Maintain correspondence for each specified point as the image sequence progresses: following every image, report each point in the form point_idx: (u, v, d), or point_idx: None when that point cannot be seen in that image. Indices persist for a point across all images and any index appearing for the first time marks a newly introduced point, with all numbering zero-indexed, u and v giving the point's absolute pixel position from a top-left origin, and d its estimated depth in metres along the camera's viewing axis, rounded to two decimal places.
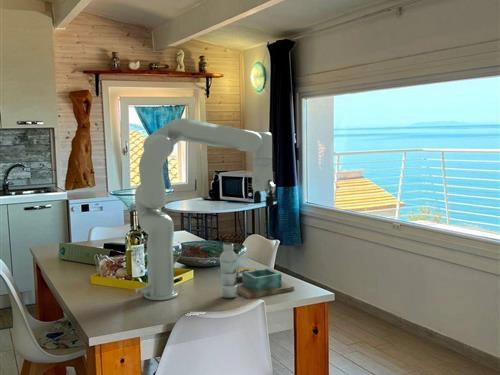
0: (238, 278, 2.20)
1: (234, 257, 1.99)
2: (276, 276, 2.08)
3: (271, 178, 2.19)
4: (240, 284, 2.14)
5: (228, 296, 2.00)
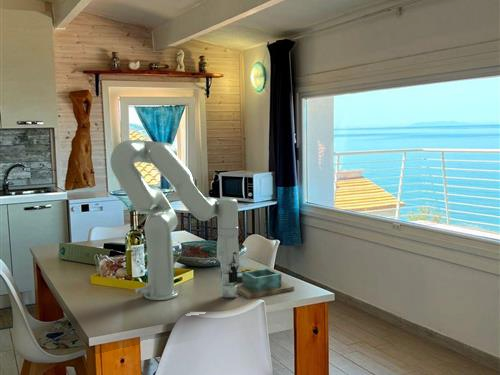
0: None
1: None
2: (276, 276, 2.08)
3: (237, 250, 1.97)
4: (240, 284, 2.14)
5: (228, 296, 2.00)
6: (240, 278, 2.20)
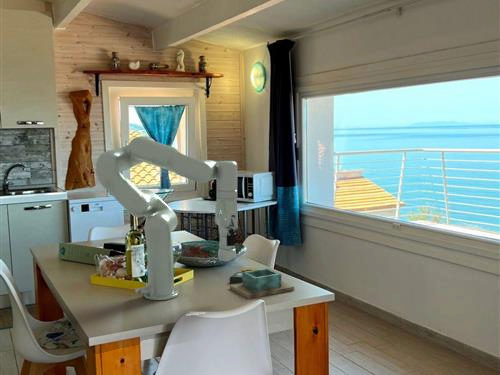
0: (233, 278, 2.21)
1: None
2: (276, 276, 2.08)
3: (235, 213, 1.96)
4: (240, 284, 2.14)
5: (226, 259, 1.98)
6: (238, 278, 2.20)
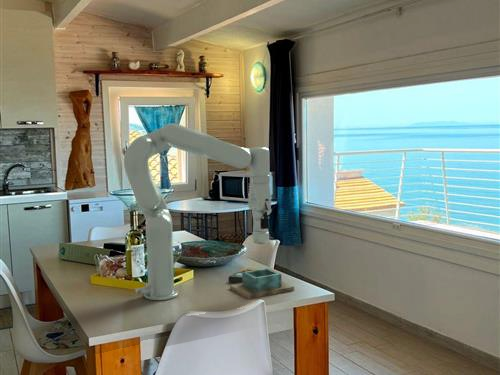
0: (232, 277, 2.21)
1: None
2: (276, 276, 2.08)
3: (268, 197, 2.04)
4: (240, 284, 2.14)
5: (260, 242, 2.07)
6: (236, 278, 2.20)
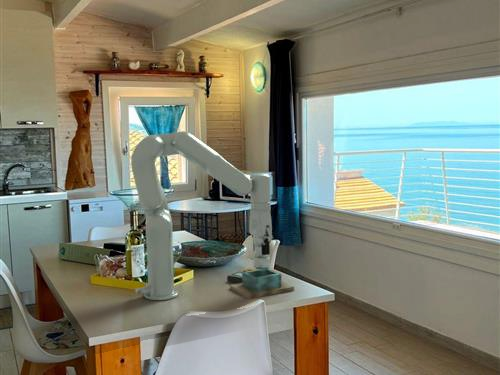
0: (230, 277, 2.22)
1: None
2: (276, 276, 2.08)
3: (269, 223, 2.05)
4: (240, 284, 2.14)
5: (261, 268, 2.08)
6: (234, 278, 2.21)
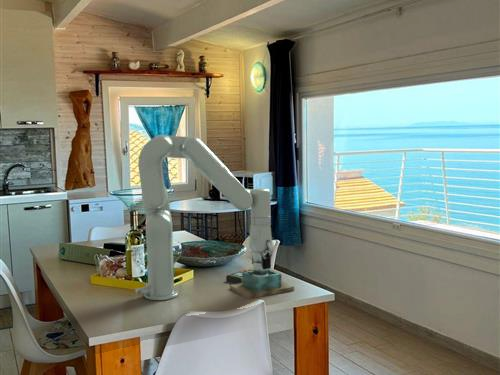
0: (229, 277, 2.23)
1: None
2: (276, 276, 2.08)
3: (269, 238, 2.06)
4: (240, 284, 2.14)
5: None
6: (233, 277, 2.21)
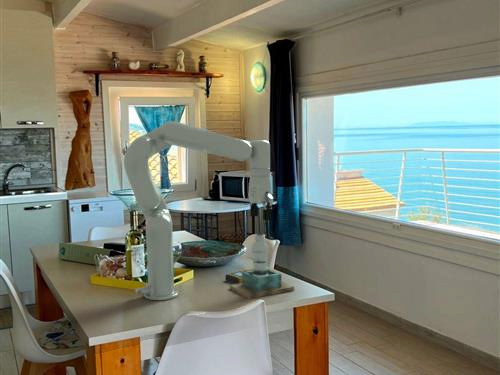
0: (228, 276, 2.24)
1: (266, 247, 2.08)
2: (276, 276, 2.08)
3: (269, 190, 2.04)
4: (240, 284, 2.14)
5: None
6: (231, 277, 2.22)
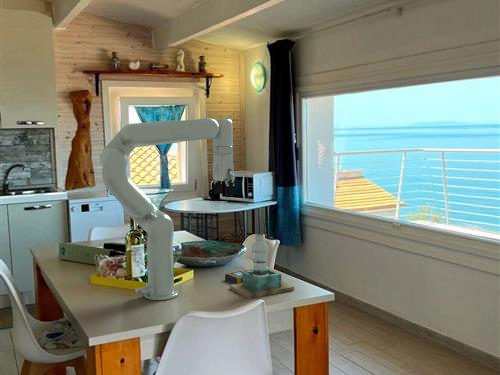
0: (227, 275, 2.24)
1: (266, 247, 2.08)
2: (276, 276, 2.08)
3: (231, 167, 2.08)
4: (240, 284, 2.14)
5: None
6: (230, 276, 2.23)
